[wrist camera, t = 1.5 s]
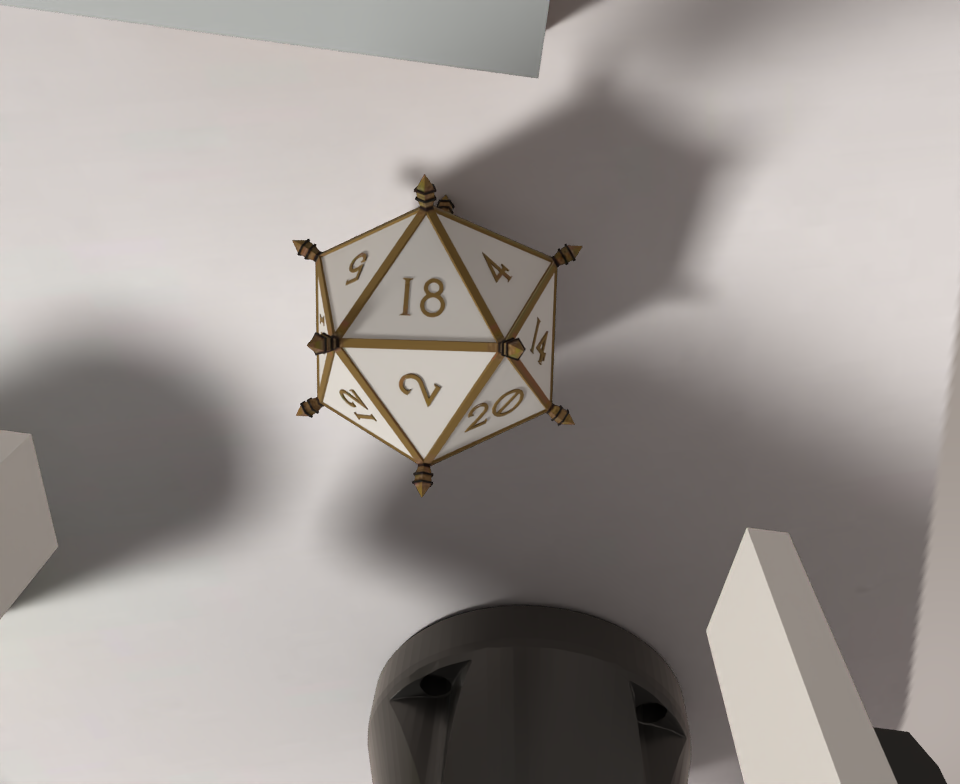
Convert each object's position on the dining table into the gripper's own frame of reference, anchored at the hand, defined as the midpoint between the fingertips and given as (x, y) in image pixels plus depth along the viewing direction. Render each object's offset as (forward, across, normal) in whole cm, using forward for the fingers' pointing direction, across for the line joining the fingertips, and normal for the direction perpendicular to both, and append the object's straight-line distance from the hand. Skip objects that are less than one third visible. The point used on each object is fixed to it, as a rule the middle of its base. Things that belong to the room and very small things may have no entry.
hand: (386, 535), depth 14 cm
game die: (+14, 0, 0) cm, 14 cm away
